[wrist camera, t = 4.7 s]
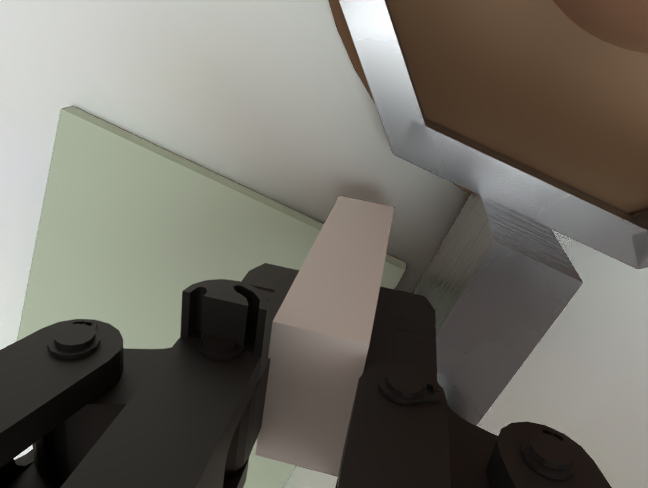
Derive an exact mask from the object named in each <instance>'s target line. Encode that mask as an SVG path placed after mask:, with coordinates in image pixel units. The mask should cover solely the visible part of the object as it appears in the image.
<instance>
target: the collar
mask: <svg viewBox="0 0 648 488" xmlns="http://www.w3.org/2000/svg"><path fill="white" fill-rule="evenodd" d="M339 2H340V5H341V7H342V10H343V13H344V16H345V19H346V22H347V25H348V27H349V30H350V33H351V36H352V39H353V42H354V44H355V47H356V50H357V53H358V56H359V59H360V61H361V64H362V67H363V70H364V73H365V76H366V78H367V81H368V84H369V87H370V90H371V93H372V96H373V98H374V101H375V104H376V107H377V110H378V113H379V115H380V118H381V121H382V124H383V127H384V130H385V132H386V135H387V138H388V141H389V144H390V147H391V150H392V152H393V154H394V153H395V154H394V155H395V156H397V157H400V158H402V159H404V160H406V161H408V162H410V163H412V164H415V165H417V166H419V167H421V168H423V169H425V170H427V171H429V172H432V173H434V174H436V175H438V176H440V177H442V178H444V179H446V180H449V181H451V182H453V183H455V184H457V185H459V186H461V187H463V188H466V189H468V190H470V191H472V192H471V194H470V196H469V198H468V199H467V201H466V203H465V205H464V206H463V208H462V210H461V211H460V213H459V215H458V217H457V218H456V220H455V222H454V223H453V225H452V227H451V229H450V230H449V232H448V234H447V235H446V237H445V239H444V241H443V242H442V244H441V246H440V247H439V249H438V251H437V253H436V254H435V256H434V258H433V259H432V261H431V263H430V265H429V266H428V268H427V270H426V271H425V273H424V275H423V277H422V278H421V280H420V282H419V283H418V285H417V287H416V289H415V290H414V292H413V294H417V295H421V296H425V297H426V298H427V300H428V301H429V302H430V304H431V305H432V307H433V308H434V309H435V317H436V325H435V327H436V355H437V382H438V383H439V385H440V386H441V387H442V388H443V390H444V393H445V396H446V399H447V405H448V406H449V407H450V408H451V409H452V410H453V411H454V412H455V413H456V414H458V415H459V416H460V417H462V418H463V419H465V420H466V421H468V422H470V423H472V424H473V425H475V426H476V425H477V424H478V423H479V421H480V420H481V419H482V417H483V416H484V415H485V413H486V412H487V411H488V409H489V408H490V407H491V405H492V404H493V403H494V401H495V400H496V398H497V397H498V396H499V394H500V393H501V392H502V390H503V389H504V388H505V386H506V385H507V384H508V382H509V381H510V380H511V378H512V377H513V376H514V374H515V373H516V372H517V370H518V369H519V368H520V366H521V365H522V364H523V362H524V361H525V360H526V358H527V357H528V356H529V354H530V353H531V352H532V350H533V349H534V348H535V346H536V345H537V344H538V342H539V341H540V340H541V338H542V337H543V336H544V334H545V333H546V332H547V330H548V329H549V328H550V326H551V325H552V324H553V322H554V321H555V320H556V318H557V317H558V316H559V314H560V313H561V311H562V310H563V309H564V307H565V306H566V305H567V303H568V302H569V301H570V299H571V298H572V297H573V295H574V294H575V293H576V291H577V290H578V289H579V287H580V286H581V285H582V283H583V282H582V280H581V278H580V277H579V275H578V273H577V272H576V270H575V268H574V267H573V265H572V263H571V262H570V260H569V259H568V257H567V255H566V254H565V252H564V250H563V249H562V247H561V245H560V244H559V242H558V240H557V239H556V237H555V235H554V234H553V232H552V230H551V229H553V230H555V231H557V232H559V233H561V234H564V235H566V236H568V237H570V238H572V239H574V240H576V241H578V242H581V243H583V244H585V245H587V246H589V247H591V248H593V249H595V250H598V251H600V252H602V253H604V254H606V255H608V256H610V257H612V258H615V259H617V260H619V261H621V262H623V263H625V264H627V265H629V266H632V267H634V268H636V269H637V268H638V269H642V268H646V267H648V211H645V212H642V213H638V214H634V215H630V214H628V213H626V212H623V211H621V210H619V209H617V208H615V207H613V206H611V205H609V204H606V203H604V202H602V201H600V200H598V199H596V198H594V197H592V196H589V195H587V194H585V193H583V192H581V191H579V190H577V189H575V188H572V187H570V186H568V185H566V184H564V183H562V182H560V181H557V180H555V179H553V178H551V177H549V176H547V175H545V174H543V173H540V172H538V171H536V170H534V169H532V168H530V167H528V166H526V165H523V164H521V163H519V162H517V161H515V160H513V159H511V158H508V157H506V156H504V155H502V154H500V153H498V152H496V151H494V150H491V149H489V148H487V147H485V146H483V145H481V144H479V143H477V142H474V141H472V140H470V139H468V138H466V137H464V136H462V135H460V134H457V133H455V132H453V131H451V130H449V129H447V128H445V127H442V126H440V125H438V124H436V123H434V122H432V121H430V120H428V119H426V118H425V115H424V112H423V109H422V106H421V103H420V100H419V97H418V94H417V91H416V87H415V84H414V81H413V78H412V75H411V72H410V69H409V66H408V63H407V60H406V57H405V54H404V51H403V48H402V44H401V41H400V38H399V35H398V32H397V29H396V26H395V23H394V20H393V17H392V14H391V11H390V8H389V5H388V1H387V0H339ZM550 228H551V229H550Z"/></svg>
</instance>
